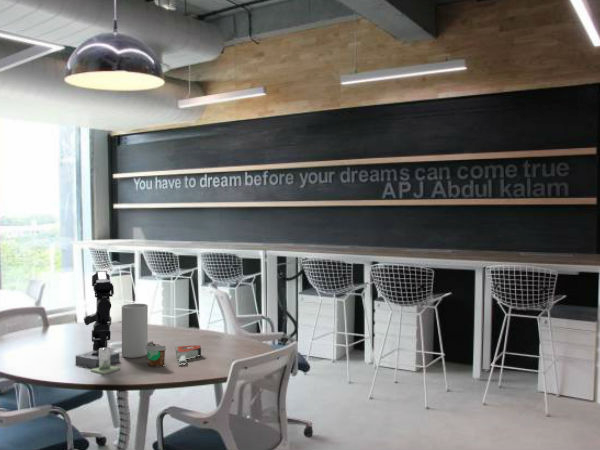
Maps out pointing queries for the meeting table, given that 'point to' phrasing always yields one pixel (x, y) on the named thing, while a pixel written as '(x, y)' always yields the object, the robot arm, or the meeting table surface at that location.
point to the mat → (112, 368)
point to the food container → (155, 354)
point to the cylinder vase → (134, 330)
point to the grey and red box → (187, 352)
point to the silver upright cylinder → (104, 358)
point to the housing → (94, 358)
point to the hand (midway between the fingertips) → (103, 341)
